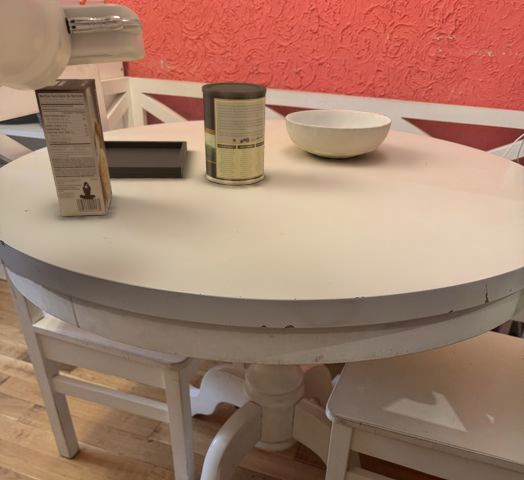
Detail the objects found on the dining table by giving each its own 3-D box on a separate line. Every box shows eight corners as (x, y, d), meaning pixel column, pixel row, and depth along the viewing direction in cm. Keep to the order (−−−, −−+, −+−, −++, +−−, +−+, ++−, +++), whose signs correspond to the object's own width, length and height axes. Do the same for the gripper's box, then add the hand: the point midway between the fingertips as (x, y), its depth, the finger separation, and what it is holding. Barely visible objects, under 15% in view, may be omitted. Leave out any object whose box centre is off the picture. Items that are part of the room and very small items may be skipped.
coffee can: (193, 177, 86) (188, 86, 78) (230, 165, 93) (229, 80, 85) (240, 189, 81) (240, 93, 73) (275, 175, 88) (279, 86, 80)
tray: (77, 177, 85) (75, 166, 84) (99, 150, 101) (98, 140, 100) (181, 178, 86) (181, 167, 85) (187, 150, 102) (186, 141, 101)
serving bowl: (356, 139, 114) (360, 106, 110) (405, 163, 97) (412, 125, 94) (270, 144, 108) (271, 109, 104) (307, 170, 92) (310, 130, 88)
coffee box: (70, 196, 77) (46, 78, 67) (113, 195, 78) (95, 78, 68) (60, 217, 69) (32, 87, 60) (108, 215, 70) (87, 87, 61)
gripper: (133, -27, 40) (145, 13, 53) (-136, -11, 38) (-57, 26, 51) (146, 62, 43) (155, 80, 56) (-105, 81, 41) (-37, 95, 53)
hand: (52, 54), depth 53 cm, fingers open, 8 cm apart
